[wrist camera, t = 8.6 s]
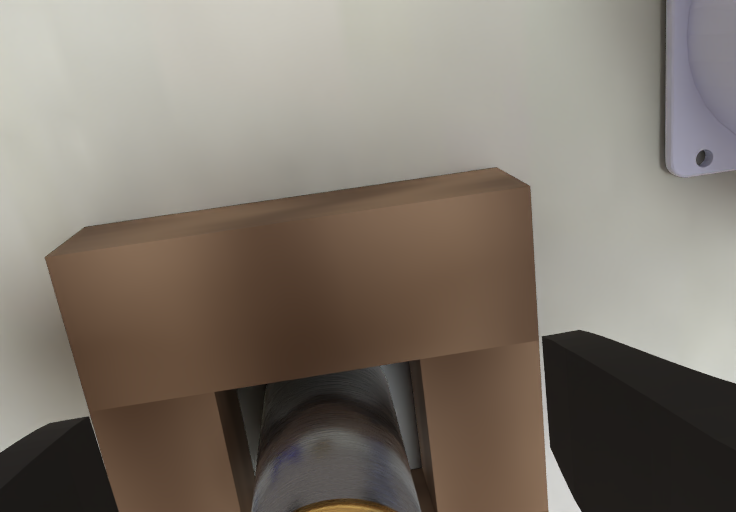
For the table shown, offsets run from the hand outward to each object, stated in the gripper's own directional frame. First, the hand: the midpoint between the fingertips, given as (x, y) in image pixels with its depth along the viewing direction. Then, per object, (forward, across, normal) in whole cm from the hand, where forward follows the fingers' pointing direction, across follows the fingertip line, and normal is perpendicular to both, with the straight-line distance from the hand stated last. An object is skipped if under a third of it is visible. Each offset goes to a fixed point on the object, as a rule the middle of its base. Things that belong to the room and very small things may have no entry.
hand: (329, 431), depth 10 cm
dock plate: (+10, +1, +5) cm, 11 cm away
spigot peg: (+10, +1, +5) cm, 11 cm away
